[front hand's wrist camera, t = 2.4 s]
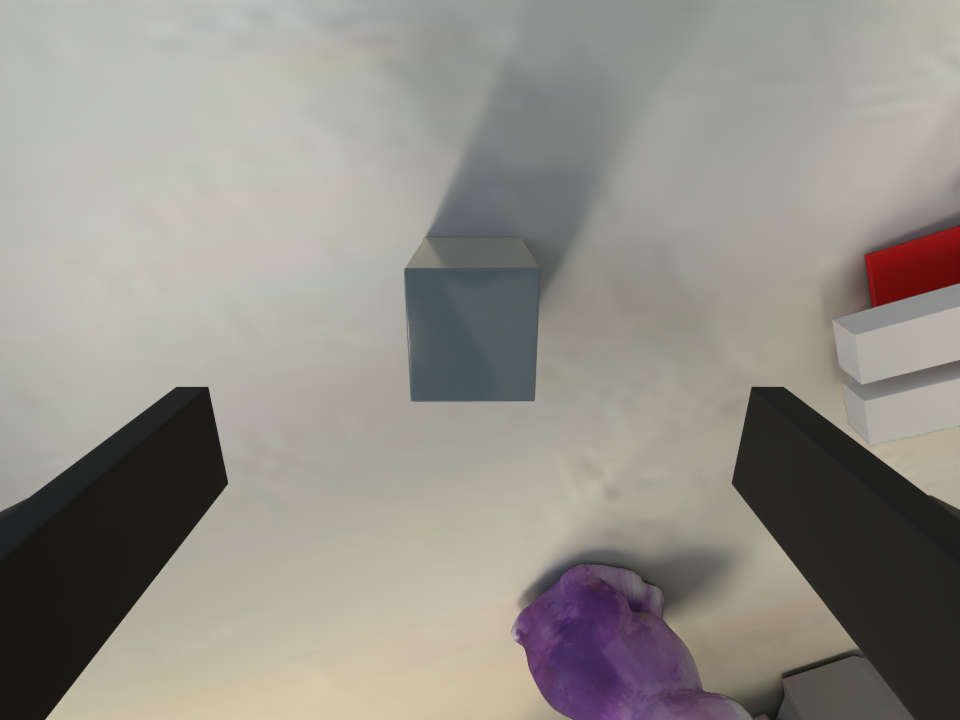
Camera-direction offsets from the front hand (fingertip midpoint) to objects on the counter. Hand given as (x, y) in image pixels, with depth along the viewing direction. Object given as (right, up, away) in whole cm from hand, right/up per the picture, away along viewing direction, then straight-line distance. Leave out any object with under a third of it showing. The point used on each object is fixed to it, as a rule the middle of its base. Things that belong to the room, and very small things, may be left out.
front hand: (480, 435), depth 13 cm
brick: (0, +6, +16) cm, 17 cm away
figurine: (+8, -15, +24) cm, 29 cm away
